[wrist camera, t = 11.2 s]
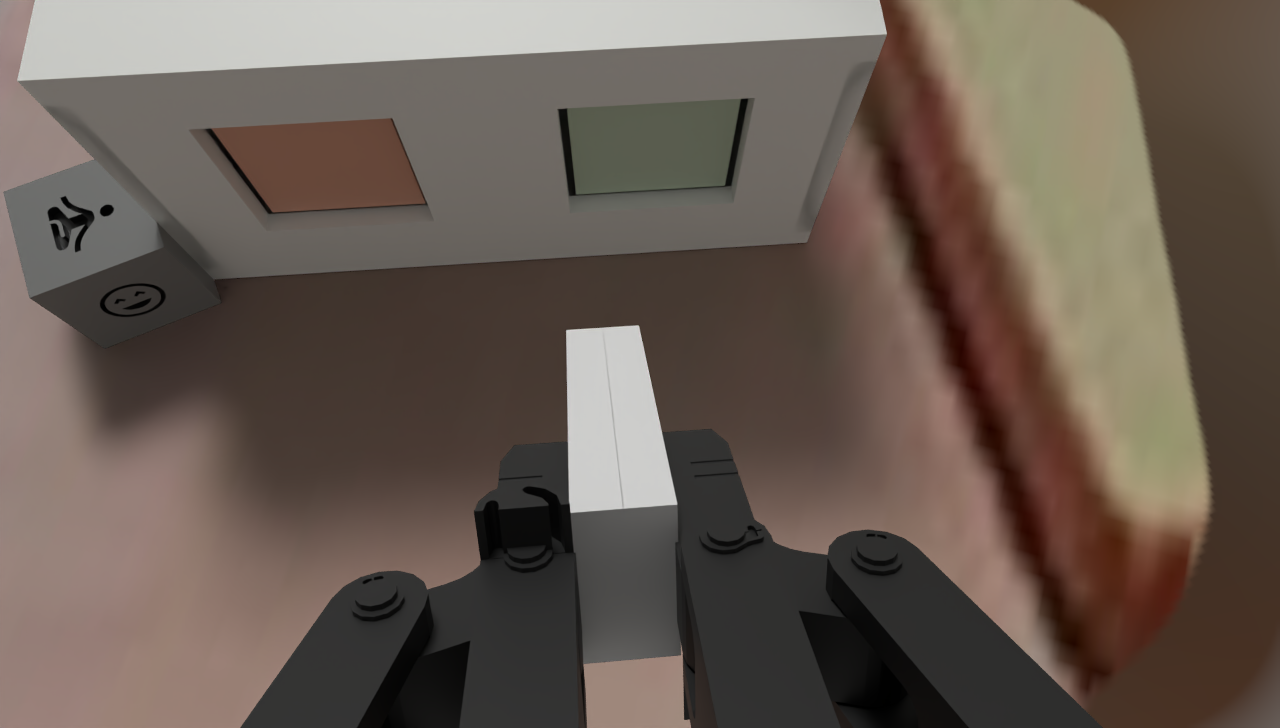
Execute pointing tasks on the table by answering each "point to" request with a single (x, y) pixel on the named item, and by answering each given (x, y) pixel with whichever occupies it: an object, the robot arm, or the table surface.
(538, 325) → the table surface
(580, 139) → the sage button
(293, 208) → the terracotta button
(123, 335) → the dice cube
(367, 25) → the box
